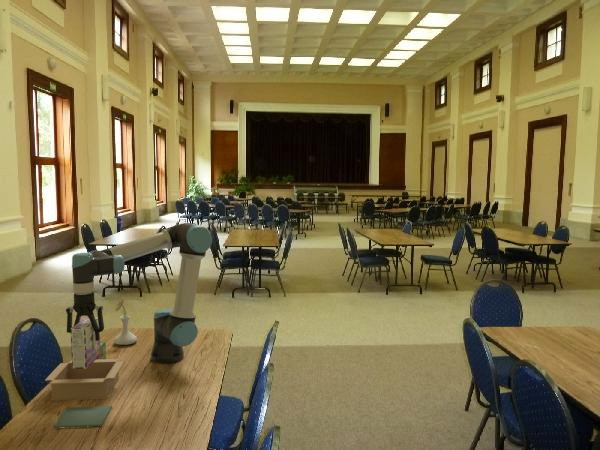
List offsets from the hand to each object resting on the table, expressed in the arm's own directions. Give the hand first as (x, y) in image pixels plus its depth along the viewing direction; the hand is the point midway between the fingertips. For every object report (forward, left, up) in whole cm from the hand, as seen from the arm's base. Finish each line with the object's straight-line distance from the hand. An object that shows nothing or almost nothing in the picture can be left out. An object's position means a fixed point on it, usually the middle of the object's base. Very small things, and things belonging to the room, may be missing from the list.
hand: (86, 348), depth 202 cm
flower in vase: (-3, -54, -17) cm, 57 cm away
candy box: (0, 0, -6) cm, 6 cm away
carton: (0, 0, -17) cm, 17 cm away
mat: (-6, +24, -17) cm, 30 cm away
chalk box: (+3, -20, -17) cm, 26 cm away
